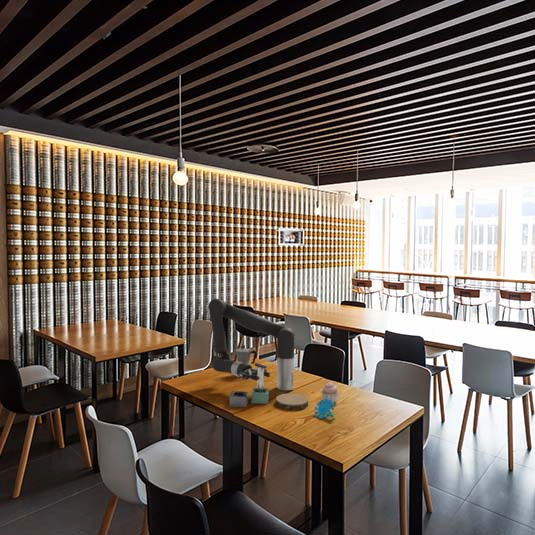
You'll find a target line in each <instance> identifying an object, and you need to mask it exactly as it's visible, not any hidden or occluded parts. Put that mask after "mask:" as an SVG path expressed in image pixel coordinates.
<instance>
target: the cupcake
mask: <svg viewBox="0 0 535 535" xmlns="http://www.w3.org/2000/svg"><path fill="white" fill-rule="evenodd" d="M320 393H321V395H322V400H324V401H325V398H326V399H328V401H329V399H330V400H331V401H332V402H333V403H334V404H335V403H337V401H338V397H339V395H340V392H339V391H338V388H337V386H336V385H335V384H333V382H331V381H330V382H328V383H326V384H324V387H323V388H322V390H320ZM328 401H327V402H328ZM332 402H331V403H332ZM329 404H330V403H329Z"/></svg>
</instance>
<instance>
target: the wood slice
mask: <svg viewBox="0 0 535 535" xmlns="http://www.w3.org/2000/svg"><path fill="white" fill-rule="evenodd" d="M275 405H276V406H277V408H280V409H282V408H283V409H282V410H286V409H287V411H299V410H304V409H307V408H308V407H309V398H308V397H307V396H305V395H303V394H299V393H281V394H279V395H277V396H276V397H275Z"/></svg>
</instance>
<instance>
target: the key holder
mask: <svg viewBox="0 0 535 535" xmlns="http://www.w3.org/2000/svg"><path fill="white" fill-rule="evenodd" d="M269 394H270V388H268V387H266V388H265V387H263V393H260V392H257V387H253V388H252V391H251V404H262V405H263V404H267V405H268V403H269V400H270V399H269V398H270V396H269Z"/></svg>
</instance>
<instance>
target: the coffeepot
mask: <svg viewBox="0 0 535 535" xmlns="http://www.w3.org/2000/svg"><path fill="white" fill-rule="evenodd" d="M233 351H234V353H235V354H236V357H237V360H236V361H237V362H242V363H246V364H249V365H255V363H256V359H257V357H258V352H256V350H254V349H249V348H246V345H244V344H243V345H242V348H236V349H235V348H234V349H233ZM251 354H253V358H252V361H250V360H251Z"/></svg>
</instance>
